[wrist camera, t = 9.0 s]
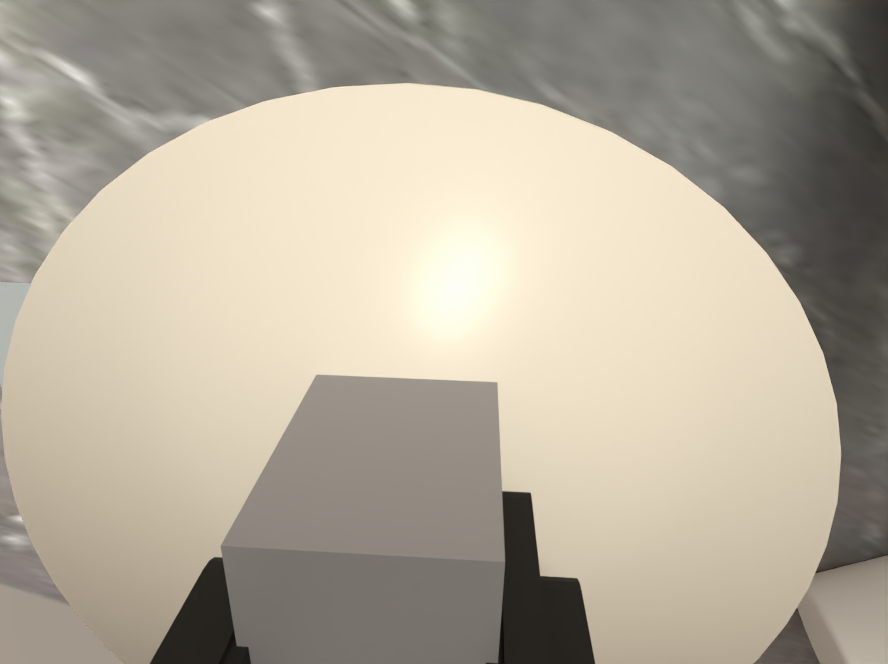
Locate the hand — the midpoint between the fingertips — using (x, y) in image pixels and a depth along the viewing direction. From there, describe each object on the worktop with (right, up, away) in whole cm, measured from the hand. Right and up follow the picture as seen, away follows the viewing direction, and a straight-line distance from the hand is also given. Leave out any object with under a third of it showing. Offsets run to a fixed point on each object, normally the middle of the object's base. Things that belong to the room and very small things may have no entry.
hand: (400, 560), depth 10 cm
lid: (0, +1, +2) cm, 2 cm away
